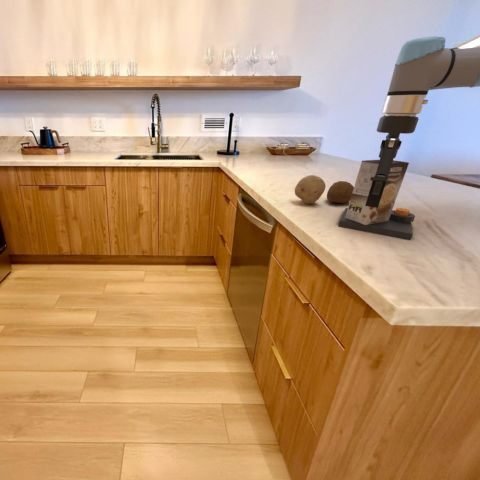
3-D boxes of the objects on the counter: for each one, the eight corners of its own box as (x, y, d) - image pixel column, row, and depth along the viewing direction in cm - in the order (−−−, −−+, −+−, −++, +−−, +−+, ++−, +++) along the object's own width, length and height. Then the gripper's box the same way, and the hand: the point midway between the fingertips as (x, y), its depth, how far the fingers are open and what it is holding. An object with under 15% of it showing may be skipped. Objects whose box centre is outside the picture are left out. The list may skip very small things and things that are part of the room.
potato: (355, 201, 103) (361, 179, 100) (348, 209, 95) (354, 186, 91) (330, 197, 108) (335, 176, 105) (321, 204, 99) (326, 182, 96)
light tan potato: (296, 207, 97) (302, 177, 93) (289, 199, 105) (294, 172, 101) (324, 208, 96) (332, 178, 92) (315, 200, 104) (321, 173, 100)
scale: (410, 224, 82) (414, 212, 81) (412, 241, 72) (417, 228, 70) (344, 213, 91) (347, 202, 90) (337, 226, 81) (341, 214, 79)
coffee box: (366, 225, 76) (385, 164, 69) (344, 218, 81) (360, 160, 75) (389, 221, 79) (410, 162, 72) (366, 214, 84) (384, 158, 78)
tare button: (407, 214, 81) (409, 209, 80) (408, 217, 79) (410, 212, 78) (394, 212, 82) (396, 207, 82) (394, 215, 80) (396, 209, 80)
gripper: (424, 116, 58) (389, 215, 67) (416, 114, 76) (390, 192, 85) (378, 116, 62) (351, 209, 71) (382, 114, 80) (360, 189, 89)
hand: (372, 200), depth 78 cm, fingers open, 13 cm apart
